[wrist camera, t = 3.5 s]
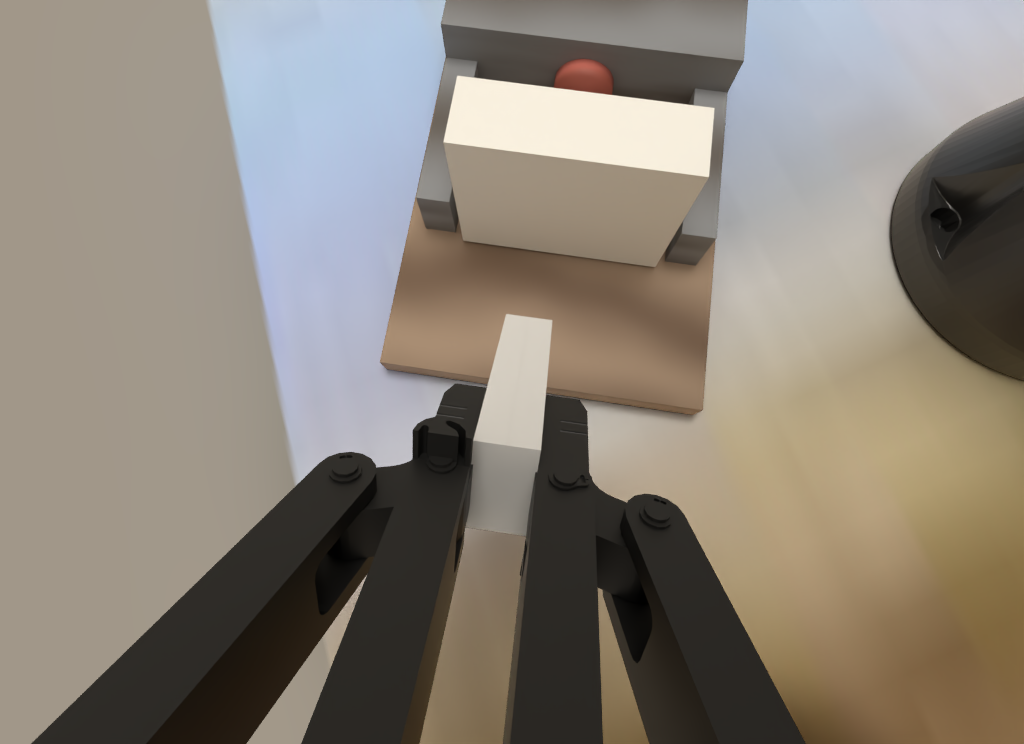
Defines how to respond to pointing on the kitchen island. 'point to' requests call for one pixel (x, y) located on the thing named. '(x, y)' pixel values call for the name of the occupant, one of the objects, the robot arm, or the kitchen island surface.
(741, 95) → the kitchen island surface
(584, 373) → the housing
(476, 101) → the cream rectangular block
